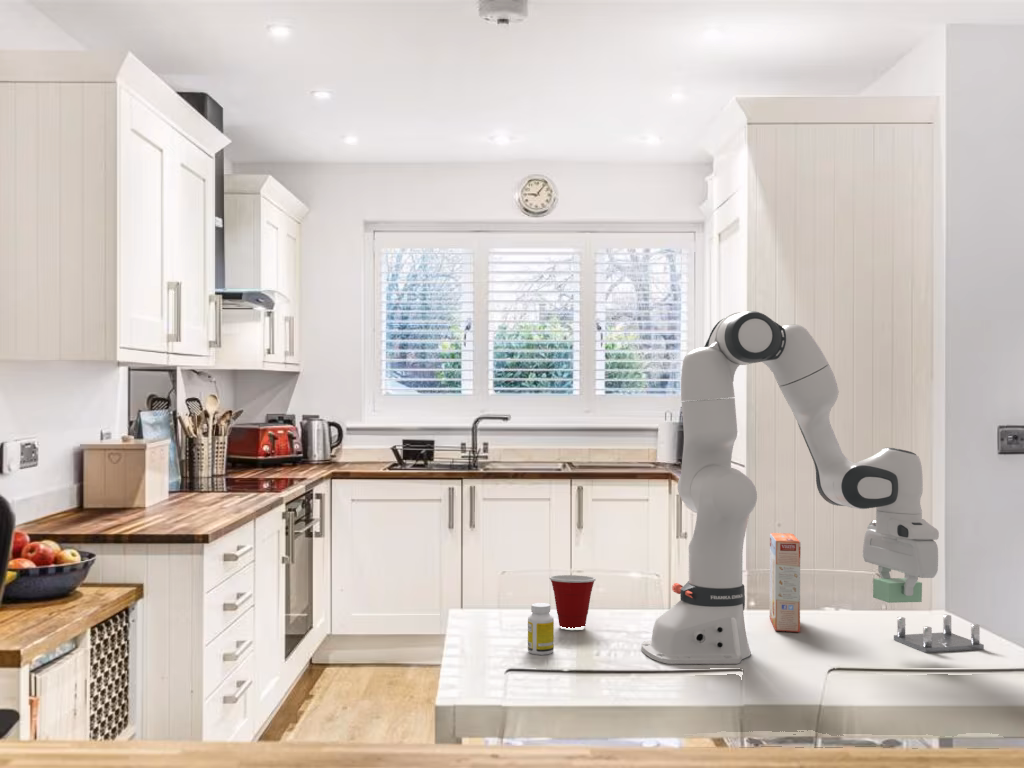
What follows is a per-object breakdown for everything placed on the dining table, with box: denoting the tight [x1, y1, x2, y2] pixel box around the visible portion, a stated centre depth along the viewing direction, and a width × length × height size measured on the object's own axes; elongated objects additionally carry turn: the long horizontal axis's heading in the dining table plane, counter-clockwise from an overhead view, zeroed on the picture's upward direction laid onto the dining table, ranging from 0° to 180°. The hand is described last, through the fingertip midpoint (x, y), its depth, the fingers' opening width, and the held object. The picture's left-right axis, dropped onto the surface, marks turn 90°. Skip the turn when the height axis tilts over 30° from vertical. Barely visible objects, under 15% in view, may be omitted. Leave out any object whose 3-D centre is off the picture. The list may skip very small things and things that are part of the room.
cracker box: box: [769, 532, 802, 633], centre depth 207 cm, size 14×6×21 cm, turn 168°
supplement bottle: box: [527, 602, 555, 656], centre depth 183 cm, size 5×5×10 cm
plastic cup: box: [548, 574, 597, 628], centre depth 203 cm, size 11×11×12 cm
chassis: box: [893, 614, 985, 654], centre depth 190 cm, size 14×11×5 cm
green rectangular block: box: [872, 577, 923, 604], centre depth 184 cm, size 8×5×4 cm, turn 105°
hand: (897, 591), depth 184 cm, fingers closed on green rectangular block, 5 cm apart
